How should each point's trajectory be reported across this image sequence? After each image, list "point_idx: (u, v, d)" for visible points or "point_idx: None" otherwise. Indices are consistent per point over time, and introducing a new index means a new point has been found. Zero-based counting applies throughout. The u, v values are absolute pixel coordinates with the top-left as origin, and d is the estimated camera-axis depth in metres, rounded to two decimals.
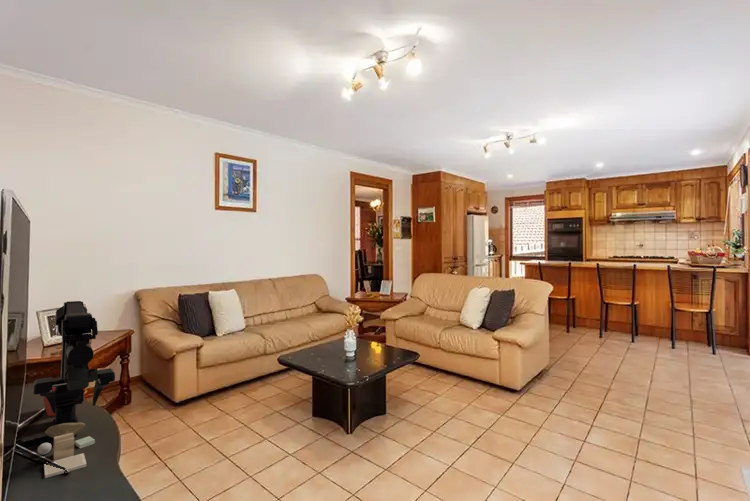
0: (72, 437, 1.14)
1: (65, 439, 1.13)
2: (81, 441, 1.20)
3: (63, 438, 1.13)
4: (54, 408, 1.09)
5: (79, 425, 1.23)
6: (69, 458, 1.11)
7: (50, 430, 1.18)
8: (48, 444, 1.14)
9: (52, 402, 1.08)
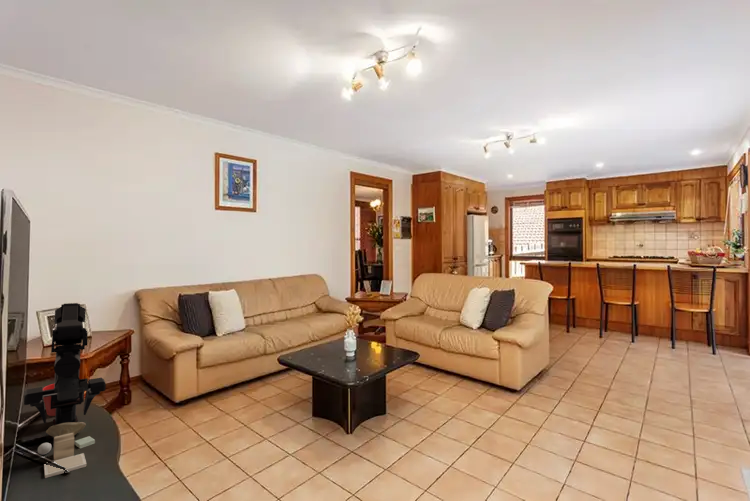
0: (72, 437, 1.14)
1: (65, 439, 1.13)
2: (81, 441, 1.20)
3: (63, 438, 1.13)
4: (44, 418, 1.10)
5: (80, 425, 1.23)
6: (69, 458, 1.11)
7: (51, 430, 1.19)
8: (48, 444, 1.14)
9: (42, 412, 1.09)
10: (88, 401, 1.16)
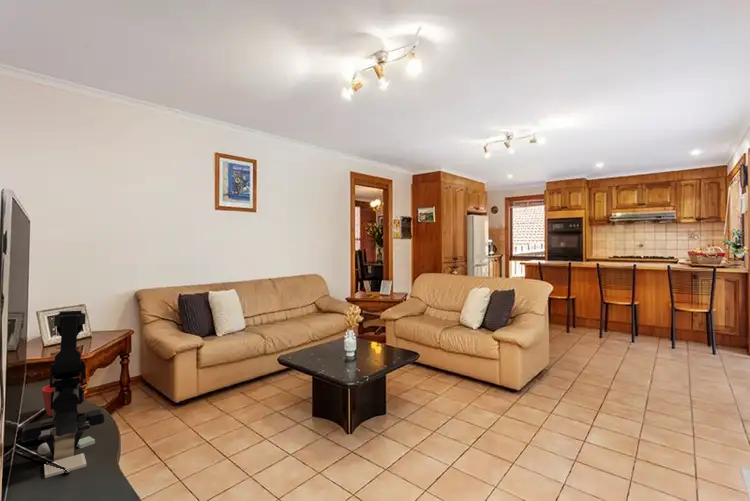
0: (72, 437, 1.14)
1: (65, 439, 1.13)
2: (81, 441, 1.20)
3: (63, 438, 1.13)
4: (53, 450, 1.11)
5: None
6: (69, 458, 1.11)
7: None
8: None
9: (51, 445, 1.11)
10: (77, 436, 1.15)
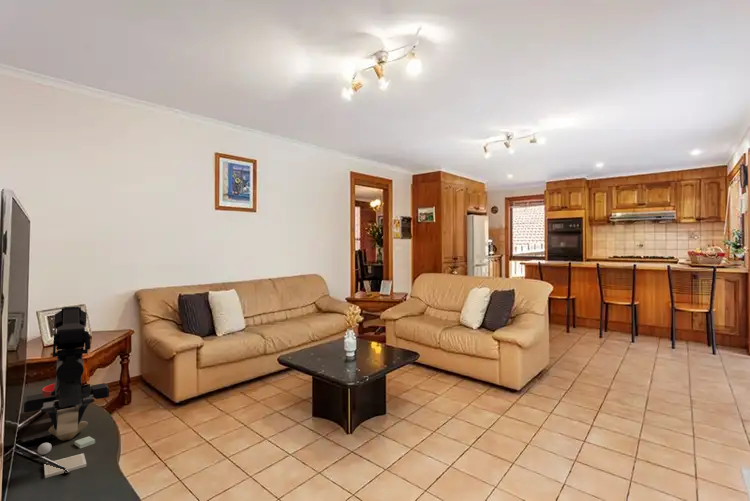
0: (76, 410, 1.09)
1: (69, 412, 1.07)
2: (81, 441, 1.20)
3: (66, 411, 1.08)
4: (55, 424, 1.06)
5: (82, 424, 1.24)
6: (69, 458, 1.11)
7: (53, 428, 1.20)
8: (48, 444, 1.14)
9: (53, 418, 1.05)
10: (81, 410, 1.10)
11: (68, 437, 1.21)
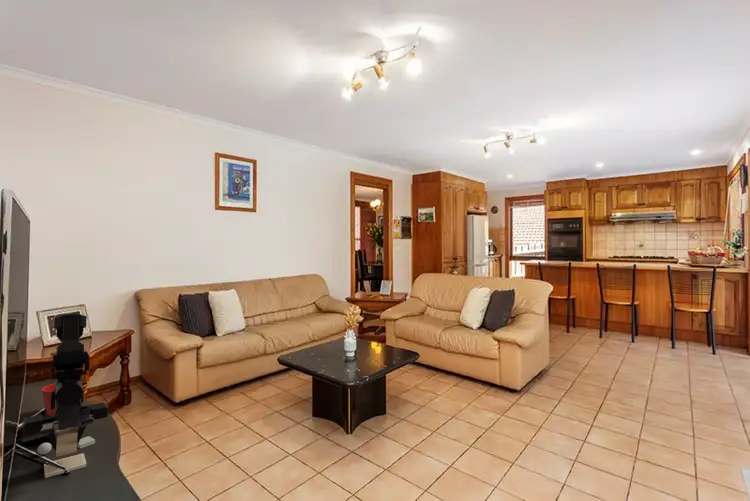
0: (75, 431, 1.09)
1: (68, 433, 1.07)
2: (81, 441, 1.20)
3: (65, 432, 1.08)
4: (55, 445, 1.06)
5: None
6: (69, 458, 1.11)
7: (54, 428, 1.20)
8: (48, 444, 1.14)
9: (53, 439, 1.05)
10: (81, 430, 1.10)
11: None
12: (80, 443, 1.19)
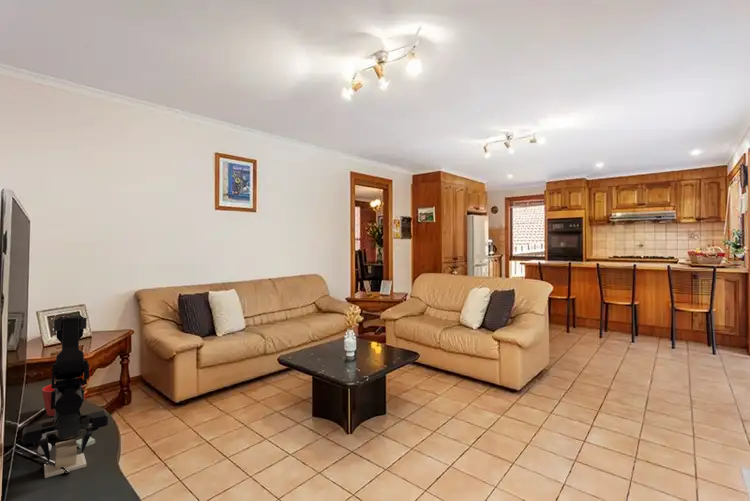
0: (74, 443, 1.09)
1: (67, 446, 1.07)
2: (81, 441, 1.20)
3: (64, 445, 1.08)
4: (48, 455, 1.05)
5: None
6: None
7: None
8: (48, 444, 1.14)
9: (46, 450, 1.05)
10: (86, 437, 1.10)
11: None
12: (80, 443, 1.19)
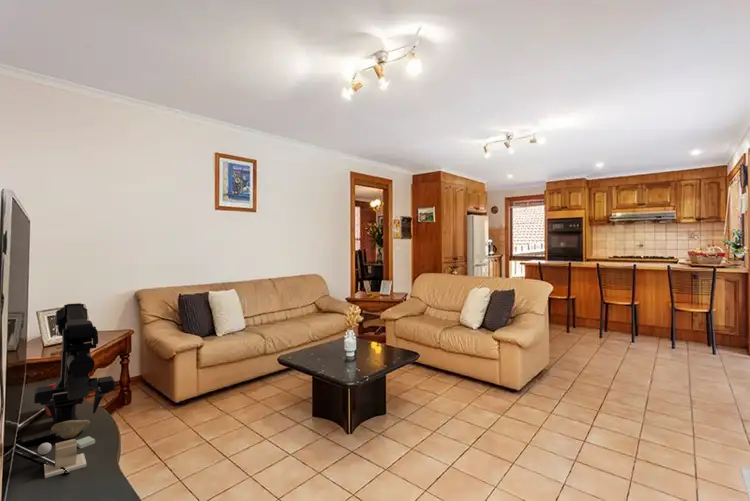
0: (74, 443, 1.09)
1: (67, 446, 1.07)
2: (81, 441, 1.20)
3: (64, 445, 1.08)
4: (54, 416, 1.10)
5: (84, 422, 1.25)
6: None
7: (56, 427, 1.21)
8: (48, 444, 1.14)
9: (52, 410, 1.09)
10: (98, 400, 1.16)
11: (70, 436, 1.22)
12: (80, 443, 1.19)
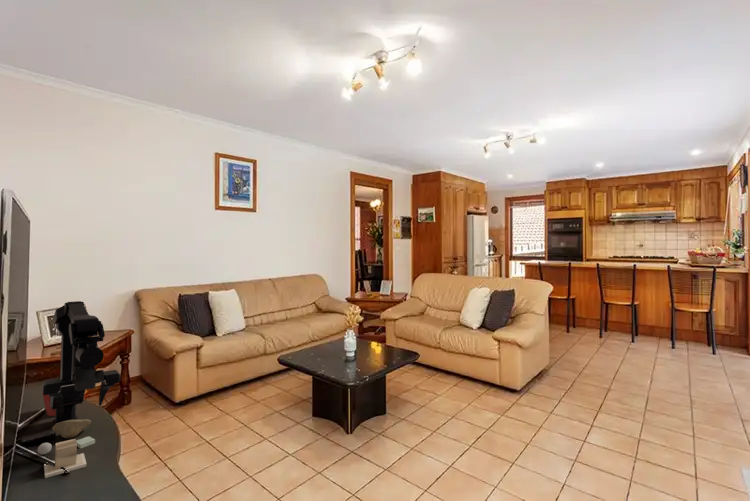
0: (74, 443, 1.09)
1: (67, 446, 1.07)
2: (81, 441, 1.20)
3: (64, 445, 1.08)
4: (62, 408, 1.14)
5: (85, 422, 1.25)
6: None
7: (57, 426, 1.21)
8: (48, 444, 1.14)
9: (60, 402, 1.13)
10: (103, 392, 1.20)
11: (71, 435, 1.22)
12: (80, 443, 1.19)
